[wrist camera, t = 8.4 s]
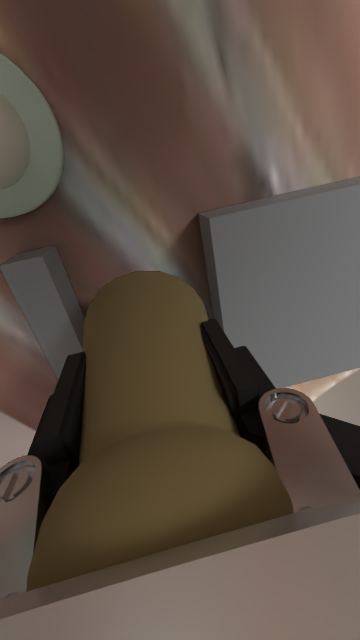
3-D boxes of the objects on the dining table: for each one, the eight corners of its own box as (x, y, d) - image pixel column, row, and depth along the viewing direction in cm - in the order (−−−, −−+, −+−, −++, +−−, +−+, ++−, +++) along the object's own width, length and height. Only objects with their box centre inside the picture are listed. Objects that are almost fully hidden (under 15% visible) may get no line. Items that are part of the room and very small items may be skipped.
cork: (212, 368, 15) (358, 700, 5) (101, 390, 15) (43, 803, 5) (203, 260, 12) (474, 544, 3) (66, 282, 12) (-230, 742, 2)
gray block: (365, 175, 16) (403, 174, 14) (345, 345, 22) (370, 364, 19) (18, 253, 15) (-2, 265, 13) (92, 411, 20) (88, 438, 18)
